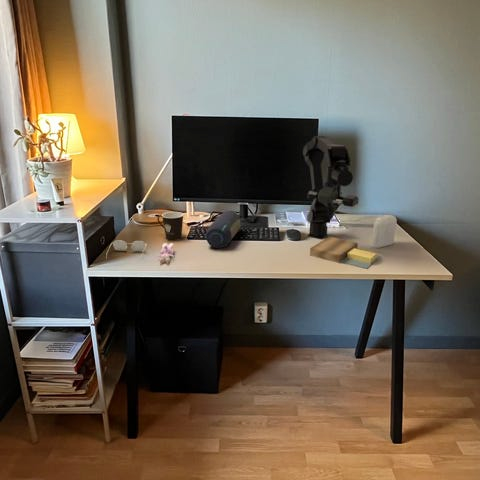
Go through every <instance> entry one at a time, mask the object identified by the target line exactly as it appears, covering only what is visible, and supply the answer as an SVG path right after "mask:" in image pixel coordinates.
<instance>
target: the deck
mask: <svg viewBox="0 0 480 480" xmlns="http://www.w3.org/2000/svg"><path fill="white" fill-rule="evenodd" d="M358 245H359V244H358V242H355V241H351V240H347V239H342V238H338V237H332V236H328V237H327V238H326V237H325V238H324V239H323V240H321V241H320V242H318V243H316V244H315V245H313V246H311V247H310V248H309V250H310V251H309V256H311V257H315V258H319V259H322V260H326V261H329V262H334V263H337V264H340V263H342V262H341V261H342V260H343V259H345V258H346V257H347V253H348V252H349V251H351V250H352V249H354V248H355V249H358Z"/></svg>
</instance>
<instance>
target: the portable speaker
mask: <svg viewBox="0 0 480 480" xmlns="http://www.w3.org/2000/svg"><path fill="white" fill-rule="evenodd" d="M242 223H243V222H242V218H241V216H240V214H239V213H237V212H236V211H235V210H225V211H224V212H222V213H221V214H220V215H219V216H218V217H217V218H216V219H215V220H214V221H213V222H212V223H211V224H210V225H209V226H208V228H207V229H206V230H207V231H206V233H205V239H206V242H207V244H208V245H209V246H211V247H213V248H218V249H221V248H224V247H226V246H227V245H229V243H230V242H231V241H232V239H233V238H234V237H235V236H236V234H237V233H238V232H239V230H240V229H241V227H242Z"/></svg>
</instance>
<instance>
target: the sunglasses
mask: <svg viewBox="0 0 480 480" xmlns="http://www.w3.org/2000/svg"><path fill="white" fill-rule="evenodd" d="M147 244H148V243H145V242H144V241H142V240H134V241H132V243H127V242H126V241H124V240H122V239H121V240H120V239H119V240H118V239H115V240H113V242H111V243H110V245H109V247H108V250H107V252H106V255H105V256H106V258H105V259H107V258H108V253H109V250H110V248H111V246H113V248H114V249H115V250H116V251H123V252H125V251H126V250H127V249H128V245H131V246H130V248H131V250H134V251H135V252H142V253H141V256H140V257H142V256H143V255H144V254H143V253H144V252H145V251H146V249H147ZM140 260H142V258H140V259H139V261H140Z"/></svg>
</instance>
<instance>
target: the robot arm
mask: <svg viewBox="0 0 480 480" xmlns="http://www.w3.org/2000/svg"><path fill="white" fill-rule="evenodd" d="M302 154H303V156H304V161H305V163H306V164H307V166H308V167H309V172H310V180H311V182H310V183H311V190H309V191H308V193H307V199H310V200H313V201H312V202H311V205H310V208H309V209H310V210H309V211H308V213H307V216H306V219H307V220H306V221H307V222H308V223H309V233H308V234H307V236H308V237H309V238H310V237H311V238H315V239H321V240H322V239H324V238H326V236H328V235H329V233H328V227H329V226H328V224H327V223H330V221H331V219H332V218H333V216H334V214H337V213H336V212H337V210H338V209H339V207H340V206H342V204H343V206H346V207H349V208H352V207H354V206H356V205H358V204H359V197H358V196H357V195H352V194H348V195H345V196H342V195H343V191H342V187H347V186H350V184H351V183H353V179H354V177H353V173H352V172H351V171H350V170H349V167H350V166H351V158H350V155H349V151H348V148H347V146H346V145H342V144H335V143H334V142H333V141H332V140H330V139H328V137H327V136H325V135H316V136H313V138H311V140H310V141H308V142H306V143H305V145H304V146H303V149H302ZM324 158H325V160H326V161H325V162H326V165H327V168H326V181H325V182H324V179H323V169H322V163H323V161H324Z"/></svg>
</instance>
